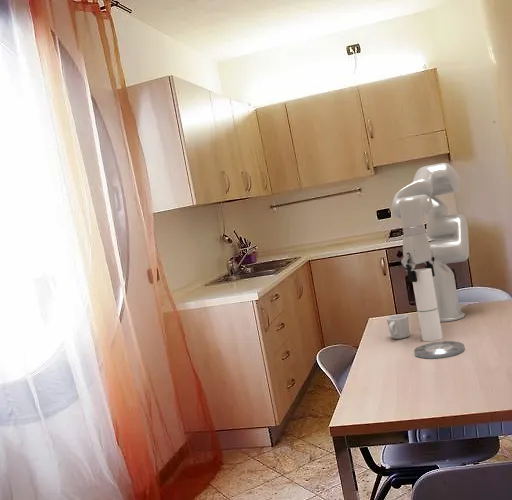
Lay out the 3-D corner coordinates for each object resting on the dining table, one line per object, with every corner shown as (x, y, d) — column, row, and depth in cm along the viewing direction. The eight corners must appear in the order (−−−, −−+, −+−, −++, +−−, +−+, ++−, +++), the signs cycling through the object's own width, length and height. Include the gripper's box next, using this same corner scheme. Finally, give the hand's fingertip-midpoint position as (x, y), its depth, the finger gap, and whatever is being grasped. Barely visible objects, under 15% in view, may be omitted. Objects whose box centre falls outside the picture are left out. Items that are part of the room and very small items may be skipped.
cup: (403, 342, 225) (399, 320, 224) (383, 342, 230) (379, 321, 229) (414, 334, 233) (411, 313, 233) (395, 334, 238) (391, 314, 238)
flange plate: (435, 343, 216) (434, 339, 216) (474, 346, 203) (474, 342, 203) (404, 356, 206) (404, 352, 206) (444, 360, 193) (443, 356, 193)
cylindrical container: (440, 334, 226) (429, 267, 224) (444, 339, 219) (432, 269, 217) (420, 337, 227) (409, 270, 225) (424, 342, 220) (412, 273, 218)
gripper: (421, 229, 228) (429, 274, 229) (390, 236, 218) (397, 284, 219) (438, 227, 222) (445, 274, 223) (406, 234, 212) (414, 284, 213)
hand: (422, 279), depth 221 cm, fingers open, 9 cm apart
